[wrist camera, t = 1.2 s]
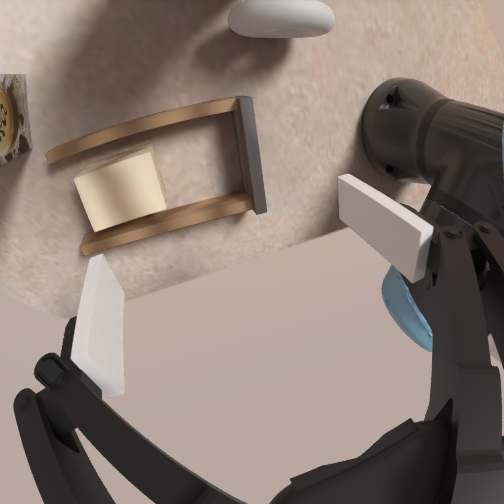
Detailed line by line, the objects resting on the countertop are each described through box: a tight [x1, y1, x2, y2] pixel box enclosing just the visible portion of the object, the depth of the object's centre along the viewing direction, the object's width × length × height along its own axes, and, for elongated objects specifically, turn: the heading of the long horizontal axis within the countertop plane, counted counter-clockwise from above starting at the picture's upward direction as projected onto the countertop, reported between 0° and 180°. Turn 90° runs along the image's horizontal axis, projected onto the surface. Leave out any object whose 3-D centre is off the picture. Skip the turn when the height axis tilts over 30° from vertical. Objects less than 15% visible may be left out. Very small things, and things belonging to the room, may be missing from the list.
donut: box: [228, 0, 335, 38], centre depth 22 cm, size 10×4×10 cm, turn 93°
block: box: [74, 143, 167, 232], centre depth 29 cm, size 8×6×5 cm
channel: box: [45, 96, 267, 256], centre depth 29 cm, size 21×12×4 cm, turn 98°
